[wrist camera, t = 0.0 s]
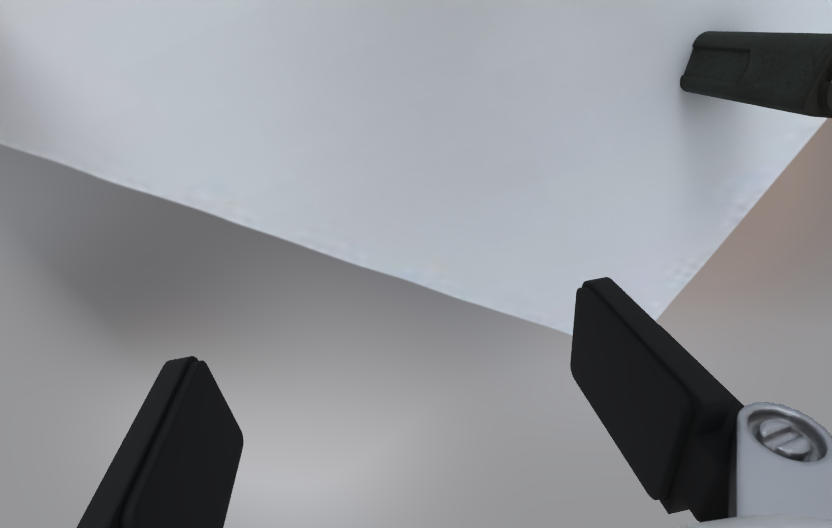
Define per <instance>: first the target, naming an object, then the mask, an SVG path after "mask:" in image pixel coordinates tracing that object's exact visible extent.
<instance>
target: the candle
mask: <svg viewBox="0 0 832 528" xmlns="http://www.w3.org/2000/svg"><path fill="white" fill-rule="evenodd" d="M693 47H694V49H693V52H692V54H691V57H690V60H689V63H688V65H687V68H686V71H685V73H684V75H683V76H682V77H681V81H680V85H681V88H682V89H683V90H684V91H687V92H691V93H696V94H701V95H706V96H711V97H716V98H722V99H727V100H732V101H737V102H742V103H747V104H752V105H757V106H762V107H767V108H772V109H777V110H782V111H787V112H792V113H797V114H802V115H807V116H813V117H826V118H832V34H818V33H768V32H717V31H708V32H704V33H702V34H701V35H700V36H699V37H698V38H697V39H696V40H695V42H694V44H693Z"/></svg>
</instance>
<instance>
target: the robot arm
mask: <svg viewBox="0 0 832 528" xmlns="http://www.w3.org/2000/svg"><path fill="white" fill-rule="evenodd" d="M571 372H572V375H573V377H574V379H575V381H576V382H577V384H578V386H579V387H580V389H581V390H582V392H583V393H584V395H585V396H586V398H587V400H588V401H589V403H590V404H591V406H592V408H593V409H594V411H595V412H596V414H597V415H598V417H599V418H600V420H601V422H602V423H603V424H604V426H605V428H606V429H607V431H608V432H609V434H610V436H611V437H612V439H613V440H614V442H615V443H616V445H617V446H618V448H619V449H620V451H621V453H622V454H623V456H624V457H625V459H626V460H627V462H628V463H629V465H630V467H631V468H632V470H633V471H634V473H635V475H636V476H637V477H638V479H639V481H640V482H641V484H642V485H643V487H644V489H645V490H646V492H647V493H648V494H649V496H650V497H651V498H652V499H654V500H660V502H661V503H662V505H663V506H664V508H665V509H666V511H667V512H668V514H671V513H676V512H680V511H684V510H688V509H689V510H690V511H691V512H692V514H693V515H694V517H695V518H696V519H697V521H700V523H696V524H691V525H686V526H681V527H676V528H832V436H831V434H830V433H829V432H828V431H827V430H826V428H825V427H823V426H822V425H821V424H819V423H818V422H817V421H815V420H814V419H813V418H811V417H809V416H807V415H805V414H803V413H802V412H800V411H798V410H795V409H792V408H790V407H787V406H784V405H780V404H774V403H769V402H757V403H752V404H749V405H746V406H744V405H742V404H741V403H740V402H739V401H738V400H737V399H736V398H735V397H734V396H733V395H732V394H731V393H730V392H729V391H728V390H727V389H726V388H725V387H724V386H723V385H722V384H720V383H719V381H718V380H716V379H715V378H714V377H713V376H712V375H711V374H710V373H709V372H708V371H707V370H706V369H705V368H704V367H703V366H702V365H701V364H700V363H699V362H698V361H697V360H696V359H695V358H694V357H693V356H691V355H690V354H689V353H688V352H687V351H686V350H685V349H684V348H683V347H682V346H681V345H680V344H679V343H678V342H677V341H676V340H675V339H674V338H673V337H672V336H671V335H670V334H669V333H668V332H667V331H665V330H664V329H663V328H662V327H661V326H660V325H658V324H657V323H656V322H655V321H654V320H653V319H652V318H651V317H650V316H649V315H648V314H647V313H646V312H645V311H644V310H643V309H642V308H641V307H640V306H639V305H638V304H637V303H636V302H634V301H633V300H632V299H631V298H630V297H629V296H628V295H627V294H626V293H625V292H624V291H623V290H622V289H621V288H620V287H619V286H618V285H617V284H616V283H615V282H614V281H613V280H612V279H610V278H608V277H605V278H599V279H594V280H589V281H585V282H584V283H583V285H582V288H579V289H578V290H577V293H576V304H575V316H574V328H573V340H572V352H571ZM242 448H243V435H242V432H241V430H240V428H239V426H238V424H237V422H236V420H235V418H234V416H233V414H232V412H231V410H230V408H229V406H228V404H227V402H226V401H225V399H224V397H223V395H222V393H221V391H220V389H219V387H218V385H217V383H216V381H215V379H214V378H213V375H212V374H211V372H210V370H209V368H208V366H207V364H206V363H205V362H204V361H198V359H197V358H195V357H194V356H190V357H185V358H180V359H175V360H169V361H167V362H166V363H165V365H164V366H163V368H162V370H161V371H160V373H159V375H158V377H157V379H156V381H155V383H154V384H153V386H152V388H151V390H150V392H149V394H148V396H147V398H146V399H145V401H144V403H143V405H142V407H141V409H140V410H139V412H138V414H137V416H136V418H135V420H134V422H133V424H132V425H131V427H130V429H129V431H128V433H127V435H126V437H125V438H124V440H123V442H122V444H121V446H120V448H119V450H118V452H117V454H116V455H115V457H114V459H113V461H112V463H111V465H110V466H109V468H108V470H107V472H106V474H105V476H104V478H103V479H102V481H101V483H100V485H99V487H98V489H97V491H96V492H95V495H94V496H93V498H92V500H91V502H90V504H89V506H88V507H87V509H86V511H85V513H84V515H83V517H82V519H81V520H80V523H79V524H78V526H77V528H223V526H224V521H225V518H226V514H227V510H228V506H229V502H230V498H231V493H232V489H233V485H234V481H235V477H236V473H237V469H238V465H239V461H240V457H241V453H242Z"/></svg>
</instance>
